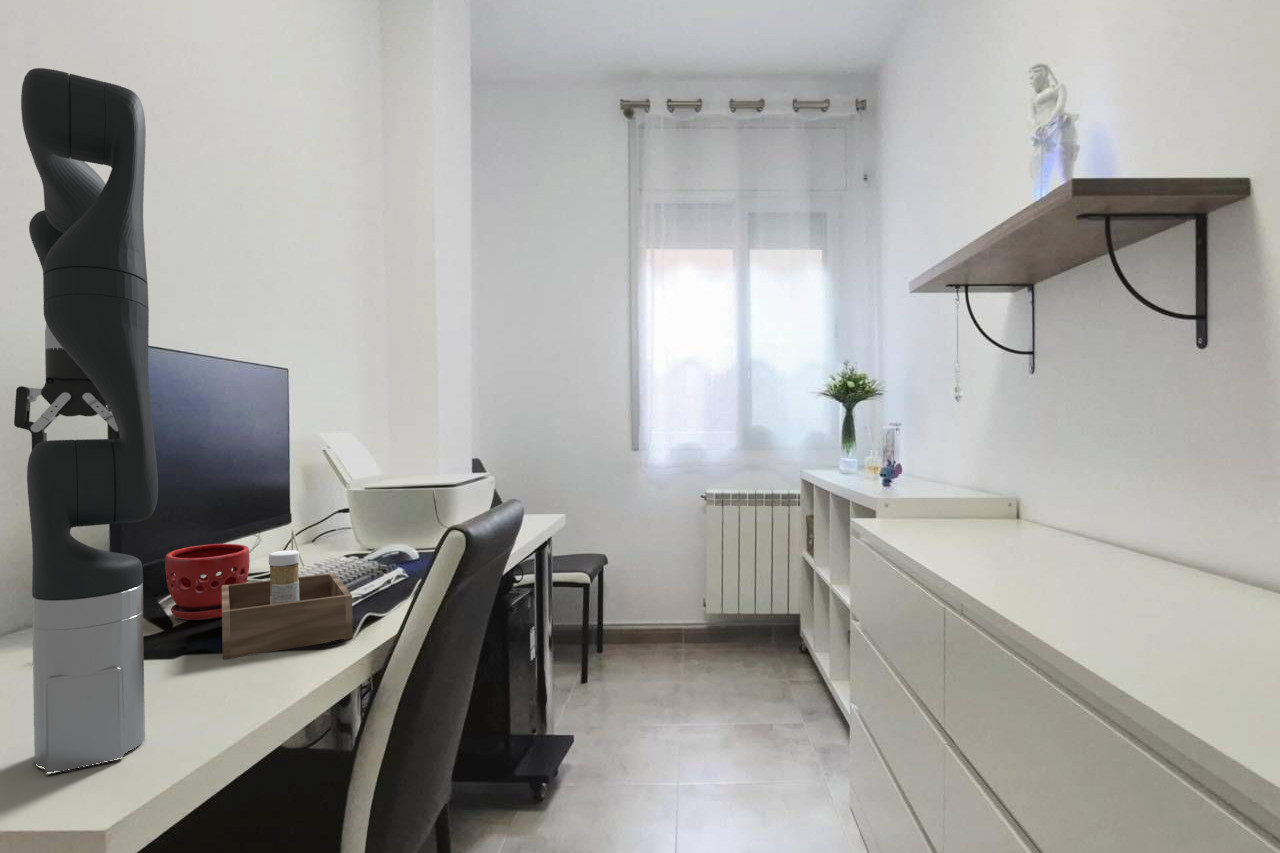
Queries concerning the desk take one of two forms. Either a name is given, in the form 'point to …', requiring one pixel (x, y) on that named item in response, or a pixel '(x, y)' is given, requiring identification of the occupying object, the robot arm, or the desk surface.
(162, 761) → the desk surface
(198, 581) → the plant pot
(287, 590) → the sprinkles bottle
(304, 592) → the wooden box
